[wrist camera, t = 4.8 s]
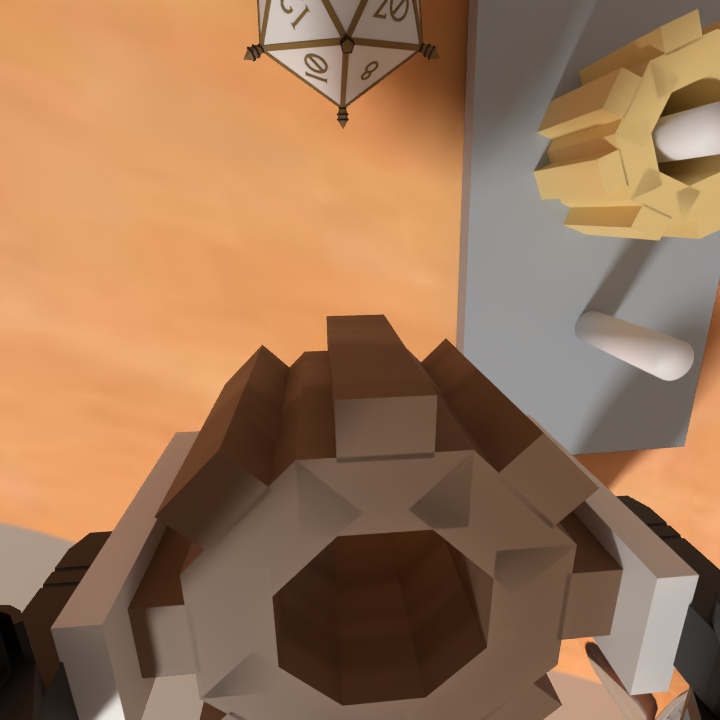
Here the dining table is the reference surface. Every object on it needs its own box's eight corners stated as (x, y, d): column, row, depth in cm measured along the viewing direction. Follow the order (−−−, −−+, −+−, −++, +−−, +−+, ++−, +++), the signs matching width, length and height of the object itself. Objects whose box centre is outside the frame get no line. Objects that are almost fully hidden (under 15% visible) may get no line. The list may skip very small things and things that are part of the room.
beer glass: (610, 527, 35) (809, 739, 21) (529, 567, 36) (669, 801, 22) (580, 458, 33) (779, 644, 19) (494, 502, 34) (626, 715, 19)
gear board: (470, -35, 23) (551, -166, 15) (761, -33, 25) (979, -153, 16) (452, 452, 32) (498, 532, 24) (668, 436, 33) (781, 508, 25)
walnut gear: (190, 320, 12) (81, 411, 7) (511, 310, 13) (661, 385, 7) (224, 586, 15) (168, 810, 9) (488, 565, 16) (583, 762, 10)
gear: (513, 102, 24) (573, 68, 18) (673, 25, 24) (786, -34, 18) (559, 260, 27) (624, 273, 21) (703, 194, 26) (809, 189, 21)
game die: (352, 25, 27) (491, -137, 19) (361, 167, 26) (507, 63, 18) (197, -53, 22) (297, -326, 14) (204, 122, 21) (313, -51, 13)
